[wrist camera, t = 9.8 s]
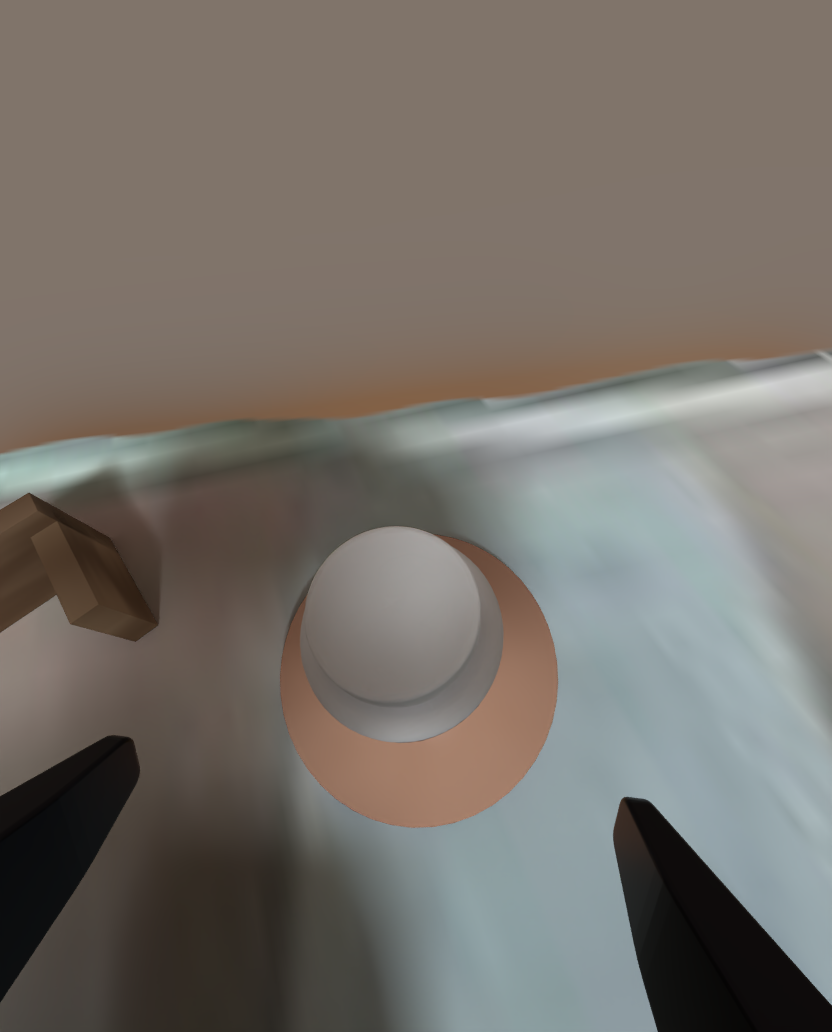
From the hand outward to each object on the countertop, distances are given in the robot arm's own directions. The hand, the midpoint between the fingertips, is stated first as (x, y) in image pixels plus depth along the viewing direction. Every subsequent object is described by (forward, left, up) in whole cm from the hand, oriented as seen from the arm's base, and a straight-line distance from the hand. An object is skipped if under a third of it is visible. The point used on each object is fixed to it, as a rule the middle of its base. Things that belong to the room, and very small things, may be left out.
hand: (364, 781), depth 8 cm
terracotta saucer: (+3, -2, -11) cm, 12 cm away
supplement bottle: (+3, -2, -11) cm, 11 cm away
